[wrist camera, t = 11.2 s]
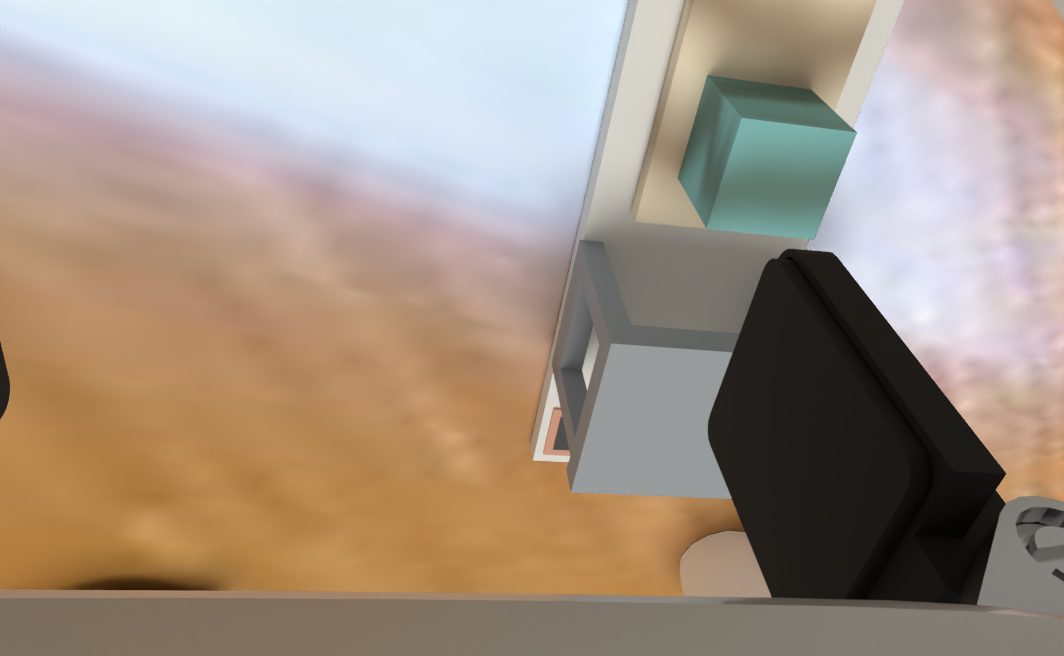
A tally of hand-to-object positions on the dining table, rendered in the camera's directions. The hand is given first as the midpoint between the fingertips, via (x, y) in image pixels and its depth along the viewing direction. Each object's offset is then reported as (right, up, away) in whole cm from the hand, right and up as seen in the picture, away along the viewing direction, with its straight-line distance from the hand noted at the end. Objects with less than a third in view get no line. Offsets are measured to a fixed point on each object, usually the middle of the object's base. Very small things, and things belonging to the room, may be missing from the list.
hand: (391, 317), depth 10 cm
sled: (+12, +14, +27) cm, 33 cm away
